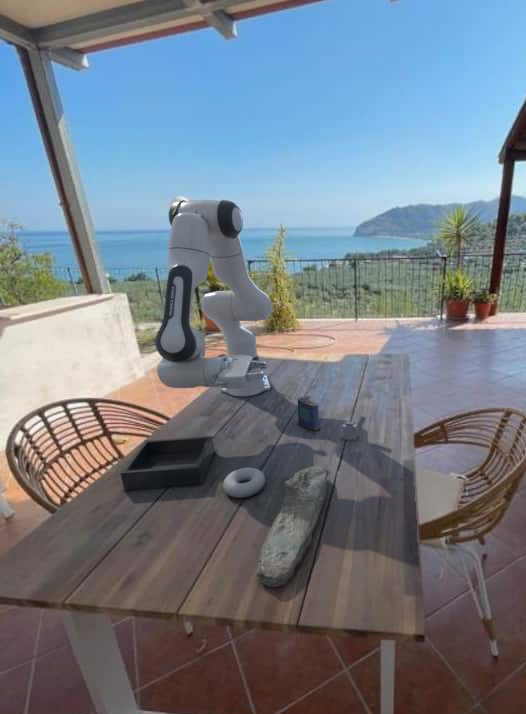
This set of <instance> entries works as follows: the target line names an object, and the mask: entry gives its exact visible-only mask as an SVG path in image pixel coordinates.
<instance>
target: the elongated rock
mask: <svg viewBox="0 0 526 714" xmlns="http://www.w3.org/2000/svg"><path fill="white" fill-rule="evenodd" d="M328 476H329V475H328V473H327V471H326V470H325V468H323V467H321V466H315V465H314V466H313V465H311V466H309V467H307V468H304V469H300V470H299V471H297V472H295V473H294V475H293V477H290V478H289V480H285V482H284V485H283V487H284V489H285V492H284V495H283V499H282V502H281V507H280V510H279V513H278V515H276V518H275V519H274V521H273V523H272V525H271V527H270V529H269V531H268V532H267V535H266V537H265V541H264V543H262V546H261V548H260V551H259V552H260V555H259V558H258V560H257V562H258V563H257V568H256V577H257V578H261V580H260V581H261V582H262V584H264V585H265V586H267V587H271V588H279V587H281V586H285V585H286V584H287V582H289V580H290V579H291V578H292V577H293V576H294V574H295V572H296V571H295V569H296V568H297V566H298V565H299V564H300V563H301V562H302V561H303V558H304V555H305V554H306V551H307V549H308V548H309V546H310V545H311V543H312V540H313V532H314V529H315V527H317V525H318V523H319V521H318V520H319V517H320V515H321V511H322V508H323V506H324V504H325V502H326V499H327V493H328V487H327V486H328V483H329V481H328Z"/></svg>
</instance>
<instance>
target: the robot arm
mask: <svg viewBox="0 0 526 714" xmlns="http://www.w3.org/2000/svg"><path fill="white" fill-rule="evenodd" d="M243 218H244V217H243V214H242V211H241V209H240V207H239V206H238V205H237V204H236V203H235V202H234V201H231V200H226V199H213V198H209V199H208V198H202V199H191V200H185V199H184V200H183V199H182V200H178V201H174V202H173V203H172V204H171V206H170V208H169V210H168V221H169V224H170V231H169V237H168V238H169V239H168V257H167V259H168V260H167V261H168V263H167V266H168V267H167V268H168V269H167V281H166V290H165V301H164V310H163V318H162V322H161V325H160V327H159V328H158V331H157V334H156V336H155V340H154V345H155V348H156V351H157V352H158V354H159V355H160V357H162V358H161V360H160V361H159V362H158V363H157V367H156V368H157V369H156V372H157V377H158V378H159V379H158V380H159V381H160V382H161V383H162V385H164V386H165V387H167V388H172V389H194V388H198V387H203V388H221V392H222V393H226V394H228V395H230V396H234V397H251V396H256V395H259V394H261V393H263V392H265V391H266V392H267V391H269V390H271V385H270V381H269V378H268V376H267V375H265V372H264V369H267V362H266V361H260V356H259V354H258V349H257V338H256V336H255V334H254V333H253V332H251V331H250V330H248V329H246V328H245V327H244V326H243V325H242V323H241V322H261V321H263V320H268V318H269V317H270V316H271V314H272V311H273V303H272V300H271V298H270V296H269V295H268V294H267V293H266V292H264V291H262V290H261V289H260V288H259V287H257V286H256V284H255V283H254V282H253V280H252V278H251V277H250V274H249V272H248V269H247V266H246V261H245V260H246V259H245V255H244V249H243V245H242V241H241V238H240V233H241V232H242V230H243V226H244V220H243ZM210 266H211V267H212V271H213V276H214V277H215V279H216V280H217V281H219V282H220V283H222V284H224V285H225V286H227V287H228V288H229V290H215V291H211V292H207V293H205V295H203V297H202V299H201V305H200V306H201V311H202V313H203V315H204V316H205V317H206V318H207V319H209V320H210V321H211V322H212V323H214V324H215V325H216V326H217V328H218V329H219V330H220V332H221V333H222V336H223V339H224V342H225V343H224V344H225V347H226V353H221V354H219V355H217V356H212V357H205V355H206V346H207V343H206V342H207V340H206V337H205V336H204V334H203V333H202V332H201V331H200V330H198V329H197V328H195V327H191V313H192V312H191V309H192V298H193V294H194V291H195V289H196V288H197V287H198V286H200V285H201V284H203V283H204V282H205V281H206V280H207V278H208V276H209V270H210Z"/></svg>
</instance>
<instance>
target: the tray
mask: <svg viewBox="0 0 526 714" xmlns="http://www.w3.org/2000/svg"><path fill="white" fill-rule="evenodd" d="M213 438H214V437H213V436H212V435H209V436H208V435H207V436H194V437H179V438H164V439H162V438H161V439H149V440H144V441H143V442H142V444H141V445H140V446H139V448H138V449H137V451H136V452H135V453H134V454H133V455H132V457H131V459H130V460H129V461H128V462H127V463H126V465H125V466H124V468H122V470H121V472H120V473H119V474H120V477H121V482H122V486H123V489H124V491H136V490H147V489H149V490H150V489H160V488H171V487H172V488H173V487H185V486H187V487H188V486H198V485H202V484H203V482H204V479H205V476H206V474H207V471H208V468H209V467H210V464H211V461H212V459H213V456H214V455H215V451H216V450H215V445H214V439H213Z"/></svg>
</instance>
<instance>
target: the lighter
mask: <svg viewBox="0 0 526 714" xmlns="http://www.w3.org/2000/svg"><path fill="white" fill-rule="evenodd" d="M367 419H368V418H367V415H366V414H364V413H362V414H361V416H360V417H359V420H358V422H356V423H357V424H354V421H347V422H345V423H344V424H342V439H343V440H352V441H353V440H355V441H356V440H357V439H358V429H362V427H363V425H364V424H365V422H366V420H367Z"/></svg>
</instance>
